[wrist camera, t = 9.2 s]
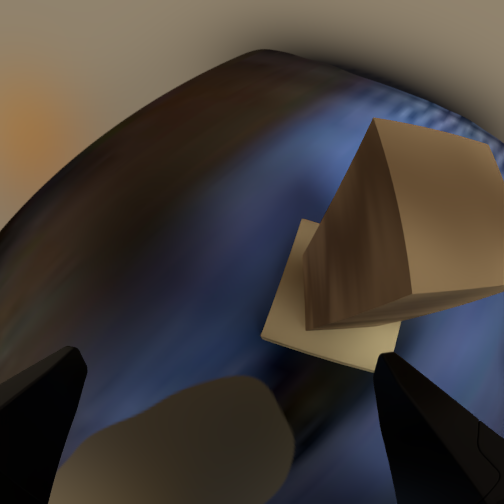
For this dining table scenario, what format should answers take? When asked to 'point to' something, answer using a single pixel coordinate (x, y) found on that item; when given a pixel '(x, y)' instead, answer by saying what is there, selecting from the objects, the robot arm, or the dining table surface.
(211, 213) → the dining table surface
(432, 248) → the column brick
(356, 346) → the base block
